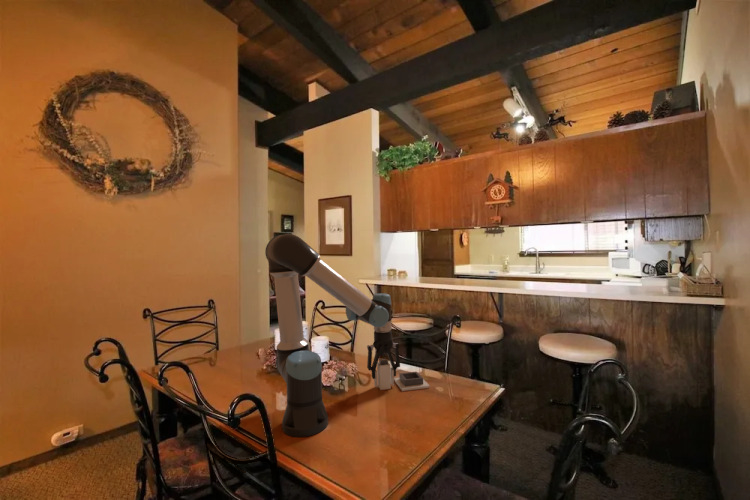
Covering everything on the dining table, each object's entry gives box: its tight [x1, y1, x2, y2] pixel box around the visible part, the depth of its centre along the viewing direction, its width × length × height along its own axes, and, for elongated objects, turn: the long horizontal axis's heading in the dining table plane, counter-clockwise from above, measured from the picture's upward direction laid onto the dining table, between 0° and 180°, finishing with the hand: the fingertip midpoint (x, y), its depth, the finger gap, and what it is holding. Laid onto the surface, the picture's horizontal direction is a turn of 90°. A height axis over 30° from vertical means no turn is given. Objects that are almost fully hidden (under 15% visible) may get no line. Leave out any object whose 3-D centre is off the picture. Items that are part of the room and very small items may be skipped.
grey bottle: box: [376, 358, 392, 391], centre depth 142 cm, size 4×4×12 cm
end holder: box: [394, 371, 431, 392], centre depth 145 cm, size 12×12×4 cm
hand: (384, 384), depth 142 cm, fingers open, 6 cm apart
